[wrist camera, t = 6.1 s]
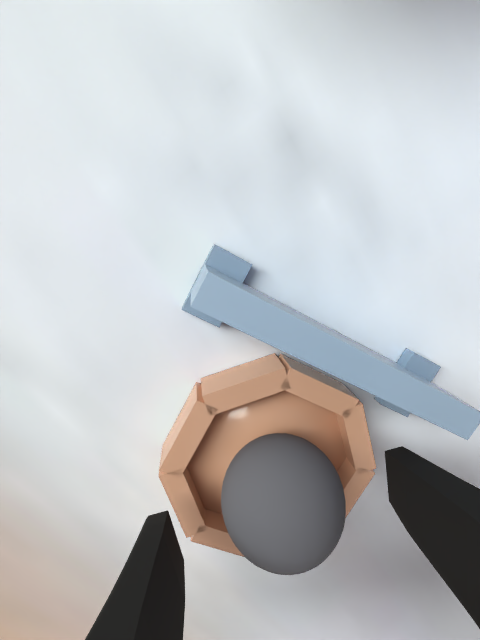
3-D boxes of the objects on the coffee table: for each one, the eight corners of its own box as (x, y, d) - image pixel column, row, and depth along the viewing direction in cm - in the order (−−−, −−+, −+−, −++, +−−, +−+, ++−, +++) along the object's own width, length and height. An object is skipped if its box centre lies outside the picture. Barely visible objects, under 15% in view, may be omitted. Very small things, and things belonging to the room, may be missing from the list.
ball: (323, 411, 12) (384, 487, 9) (308, 499, 13) (358, 603, 10) (219, 411, 12) (237, 495, 8) (211, 504, 13) (223, 619, 9)
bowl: (387, 404, 13) (408, 423, 12) (296, 544, 15) (307, 575, 13) (225, 327, 12) (229, 339, 10) (137, 493, 13) (130, 523, 11)
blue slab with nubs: (431, 362, 13) (498, 396, 10) (400, 410, 14) (455, 457, 11) (213, 244, 11) (220, 246, 8) (182, 306, 11) (178, 330, 8)
